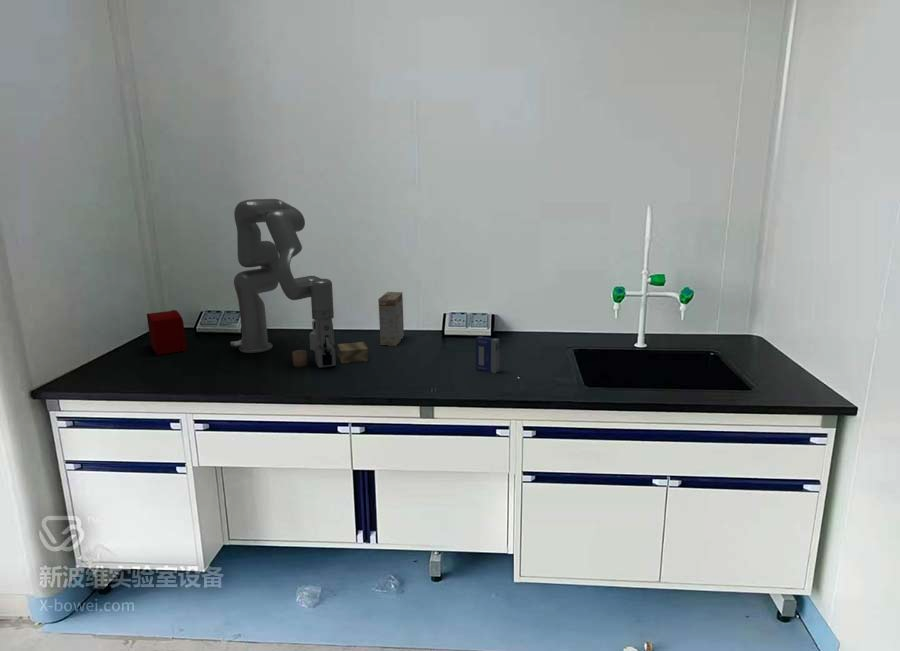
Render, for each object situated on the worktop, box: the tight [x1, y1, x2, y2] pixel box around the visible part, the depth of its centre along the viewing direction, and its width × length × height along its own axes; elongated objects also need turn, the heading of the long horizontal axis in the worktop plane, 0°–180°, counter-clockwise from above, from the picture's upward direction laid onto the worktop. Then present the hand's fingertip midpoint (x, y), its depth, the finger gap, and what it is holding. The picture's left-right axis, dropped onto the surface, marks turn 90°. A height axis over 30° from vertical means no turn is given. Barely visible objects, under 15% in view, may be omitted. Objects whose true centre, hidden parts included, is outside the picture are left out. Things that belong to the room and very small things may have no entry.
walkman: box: [475, 335, 500, 374], centre depth 199 cm, size 8×3×12 cm, turn 60°
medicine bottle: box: [308, 319, 333, 352], centre depth 228 cm, size 7×7×12 cm
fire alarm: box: [146, 309, 187, 356], centre depth 229 cm, size 16×11×15 cm
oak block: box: [337, 341, 369, 365], centre depth 215 cm, size 10×10×5 cm
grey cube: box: [314, 345, 337, 368], centre depth 207 cm, size 6×6×6 cm
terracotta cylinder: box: [291, 349, 308, 368], centre depth 208 cm, size 5×5×5 cm
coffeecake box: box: [377, 291, 405, 347], centre depth 236 cm, size 15×7×20 cm, turn 172°
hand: (325, 361), depth 208 cm, fingers closed on grey cube, 6 cm apart
